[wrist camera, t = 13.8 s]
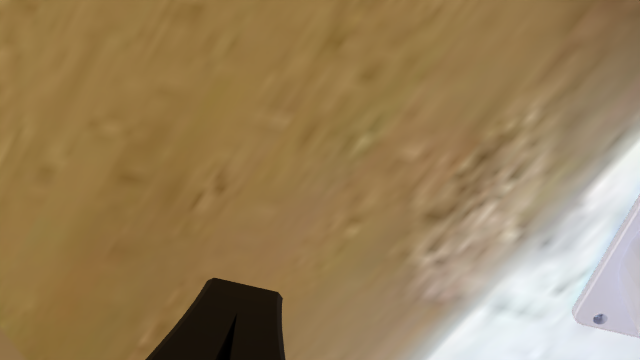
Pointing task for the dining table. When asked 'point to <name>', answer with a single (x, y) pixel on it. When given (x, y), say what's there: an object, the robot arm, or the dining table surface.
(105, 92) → the dining table surface
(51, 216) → the dining table surface
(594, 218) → the dining table surface
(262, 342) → the robot arm
